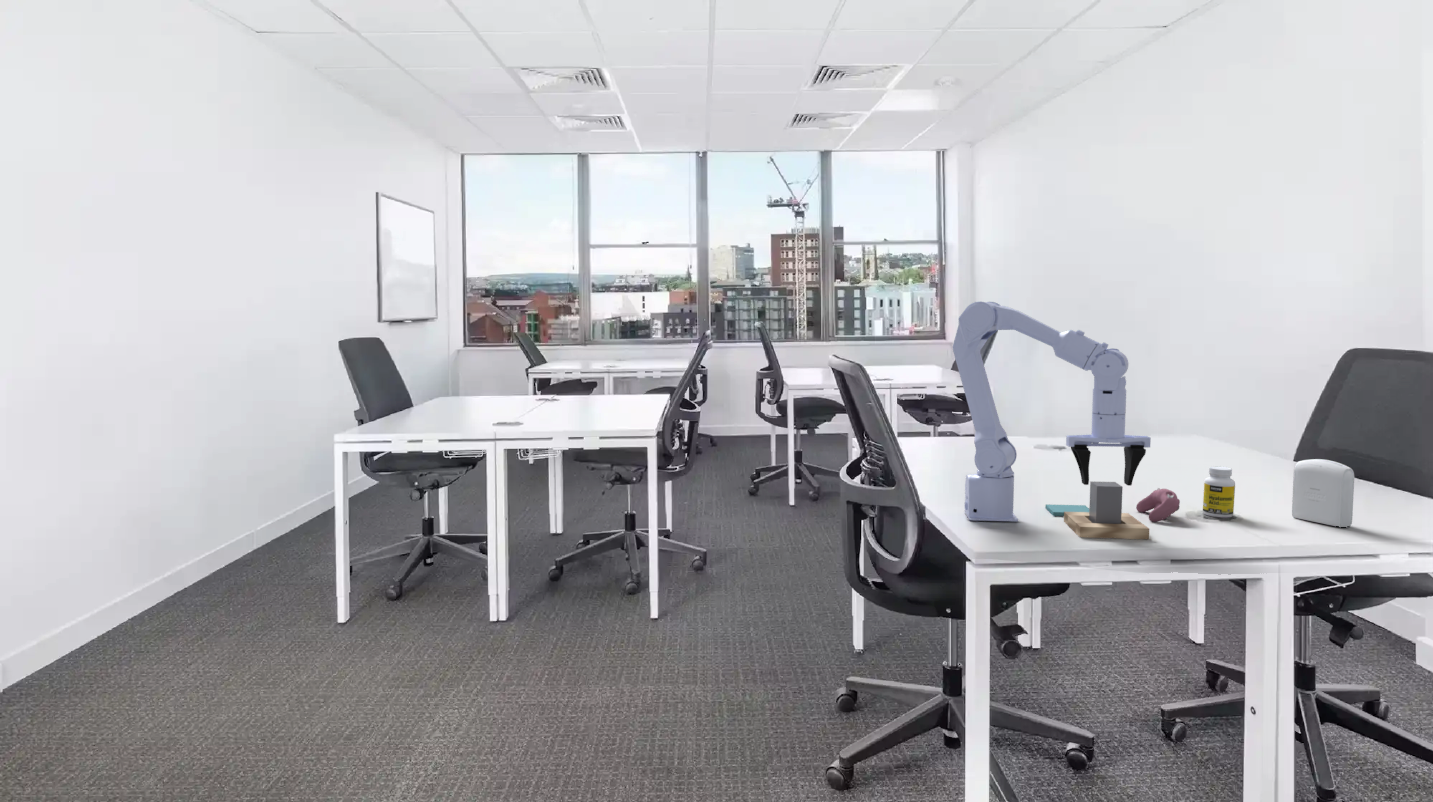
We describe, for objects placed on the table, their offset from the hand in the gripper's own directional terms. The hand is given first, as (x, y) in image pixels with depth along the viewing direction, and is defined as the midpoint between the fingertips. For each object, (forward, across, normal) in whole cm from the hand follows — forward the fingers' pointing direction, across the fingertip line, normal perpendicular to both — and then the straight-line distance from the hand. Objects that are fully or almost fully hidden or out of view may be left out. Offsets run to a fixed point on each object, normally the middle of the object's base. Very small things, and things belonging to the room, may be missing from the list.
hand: (1106, 484), depth 157 cm
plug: (+9, 0, 0) cm, 9 cm away
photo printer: (+9, +43, +11) cm, 45 cm away
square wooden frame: (+9, 0, 0) cm, 9 cm away
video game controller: (+9, +14, +12) cm, 20 cm away
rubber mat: (+9, -3, +14) cm, 17 cm away
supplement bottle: (+9, +26, +15) cm, 31 cm away
